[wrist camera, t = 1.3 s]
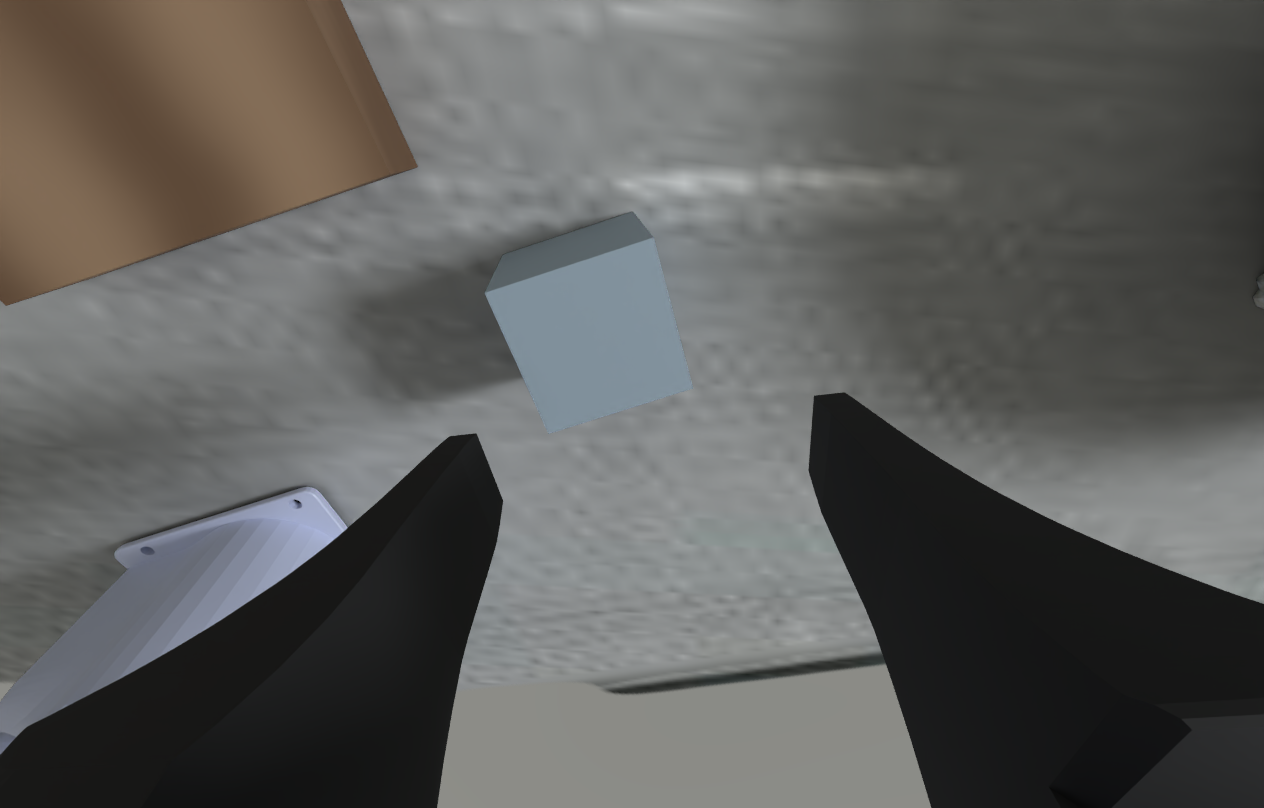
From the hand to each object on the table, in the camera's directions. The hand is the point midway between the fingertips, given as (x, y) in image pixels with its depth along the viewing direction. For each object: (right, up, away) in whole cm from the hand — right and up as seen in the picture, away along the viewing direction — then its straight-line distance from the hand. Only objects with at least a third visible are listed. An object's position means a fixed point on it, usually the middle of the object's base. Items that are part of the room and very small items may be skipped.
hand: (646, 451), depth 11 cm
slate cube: (-2, +5, +9) cm, 10 cm away
